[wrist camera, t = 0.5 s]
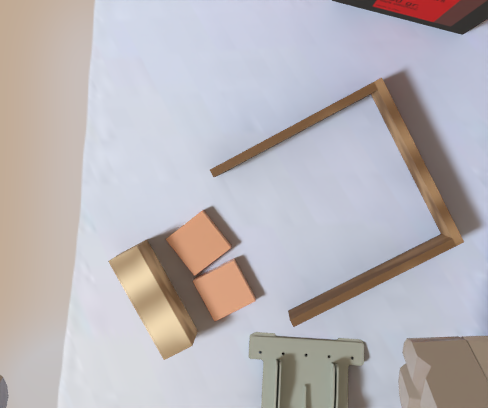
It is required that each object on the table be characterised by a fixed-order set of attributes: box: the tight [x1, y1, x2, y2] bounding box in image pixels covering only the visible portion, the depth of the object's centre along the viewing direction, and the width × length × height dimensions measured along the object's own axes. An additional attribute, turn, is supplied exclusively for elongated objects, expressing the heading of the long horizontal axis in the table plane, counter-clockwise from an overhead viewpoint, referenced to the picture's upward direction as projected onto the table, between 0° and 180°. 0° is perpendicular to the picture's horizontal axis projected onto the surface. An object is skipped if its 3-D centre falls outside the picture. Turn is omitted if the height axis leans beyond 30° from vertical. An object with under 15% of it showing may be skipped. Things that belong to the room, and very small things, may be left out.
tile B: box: [166, 210, 232, 276], centre depth 59 cm, size 6×6×2 cm
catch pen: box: [210, 78, 464, 327], centre depth 56 cm, size 22×23×4 cm
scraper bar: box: [108, 240, 198, 360], centre depth 58 cm, size 14×4×5 cm, turn 28°
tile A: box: [193, 258, 256, 321], centre depth 59 cm, size 6×6×2 cm
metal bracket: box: [249, 332, 364, 408], centre depth 60 cm, size 14×6×15 cm
